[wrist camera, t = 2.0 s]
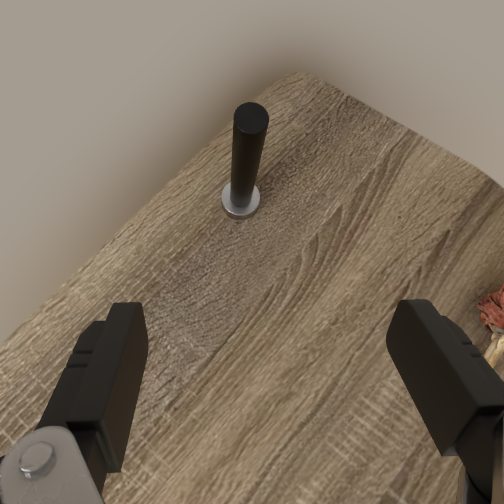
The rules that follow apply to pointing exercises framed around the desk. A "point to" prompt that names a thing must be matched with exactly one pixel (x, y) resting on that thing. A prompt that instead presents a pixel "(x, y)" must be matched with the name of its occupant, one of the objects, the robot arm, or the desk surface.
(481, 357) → the robot arm
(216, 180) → the desk surface
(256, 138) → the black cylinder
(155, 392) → the desk surface
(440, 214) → the desk surface
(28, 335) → the desk surface
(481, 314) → the spindle conch shell
